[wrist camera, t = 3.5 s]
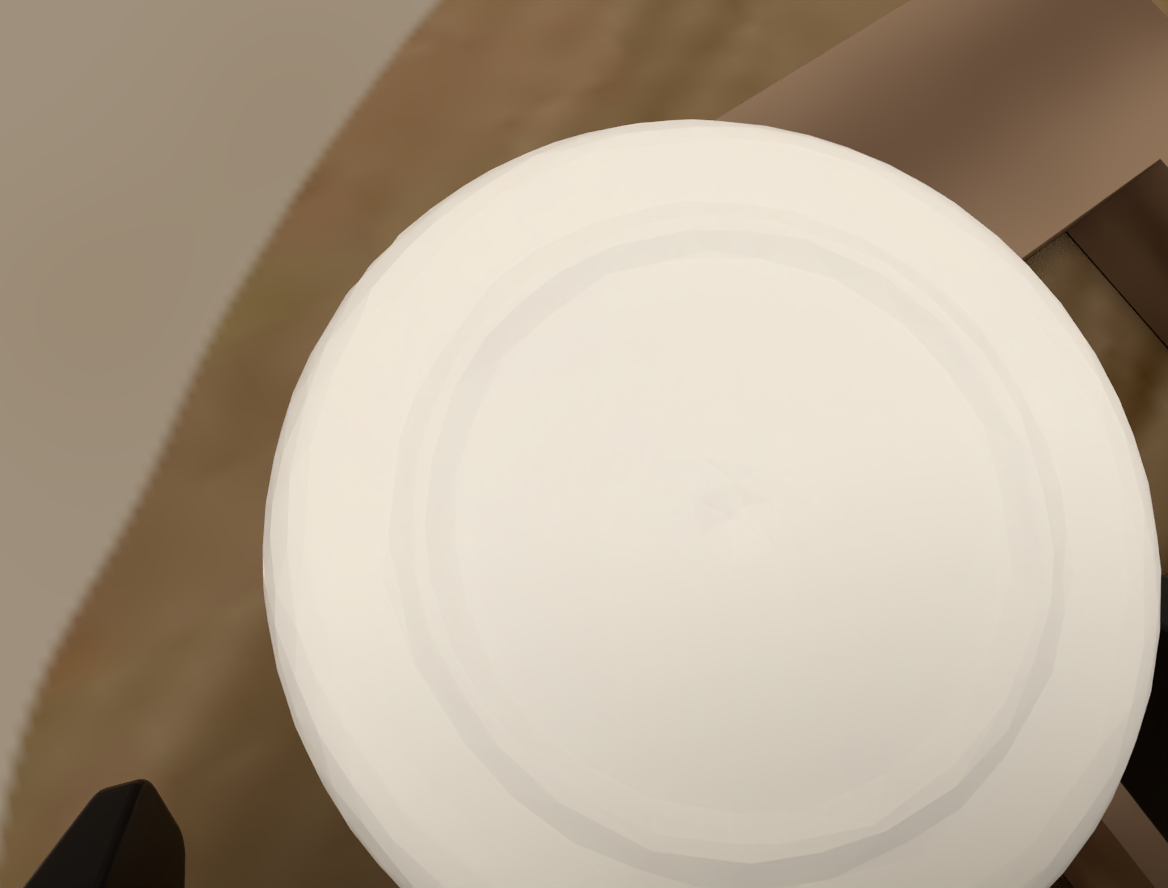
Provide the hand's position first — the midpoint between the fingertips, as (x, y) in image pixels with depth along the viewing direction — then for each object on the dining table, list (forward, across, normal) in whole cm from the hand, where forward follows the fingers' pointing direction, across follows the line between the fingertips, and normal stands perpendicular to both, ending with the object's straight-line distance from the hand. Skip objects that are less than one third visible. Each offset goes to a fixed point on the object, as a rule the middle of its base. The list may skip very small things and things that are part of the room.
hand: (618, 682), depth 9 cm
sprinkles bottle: (+7, 0, +5) cm, 9 cm away
